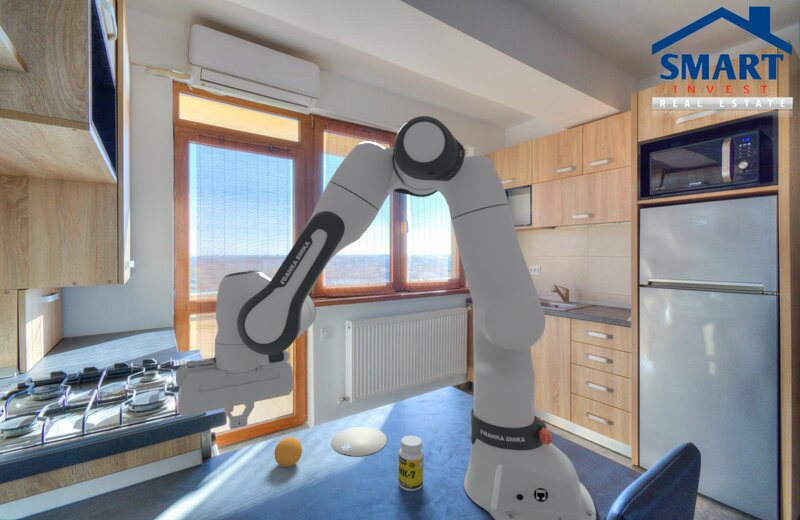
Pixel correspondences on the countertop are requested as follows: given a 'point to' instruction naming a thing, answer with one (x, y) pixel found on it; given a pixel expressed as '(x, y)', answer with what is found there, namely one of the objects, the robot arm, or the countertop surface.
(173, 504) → the countertop surface
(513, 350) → the robot arm
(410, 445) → the supplement bottle
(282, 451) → the ball
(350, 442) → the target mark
